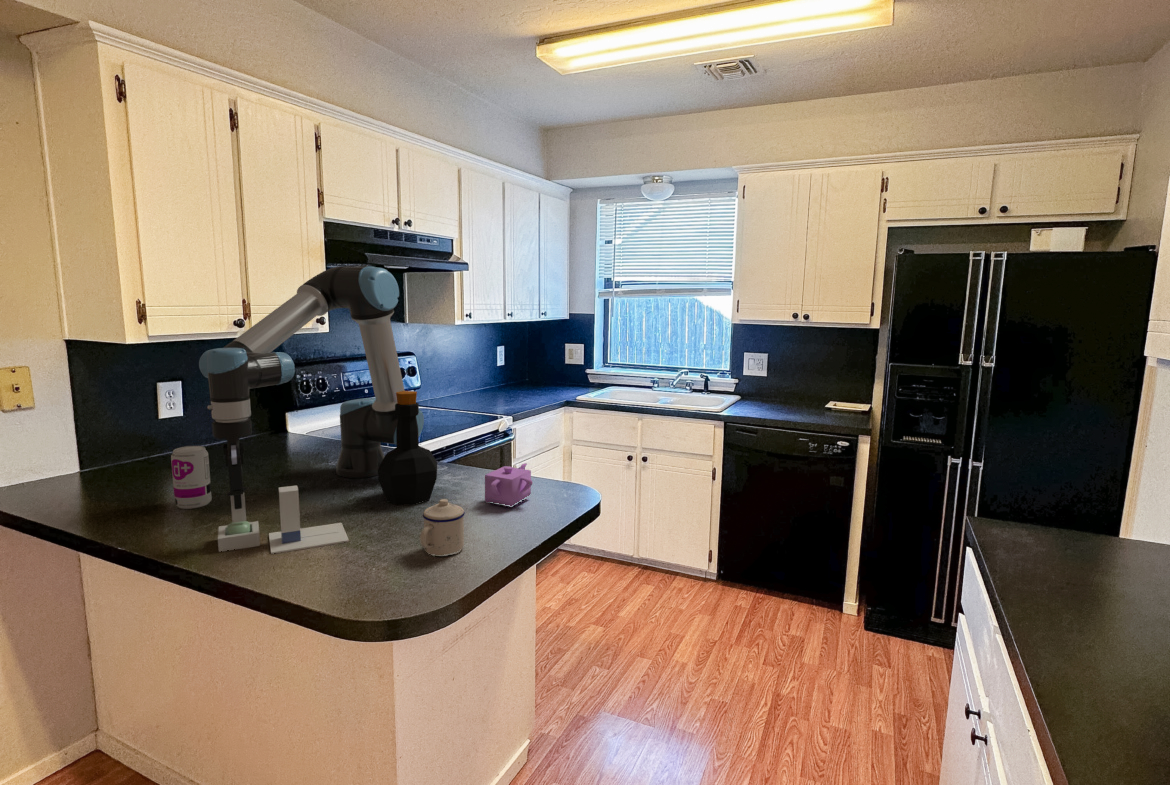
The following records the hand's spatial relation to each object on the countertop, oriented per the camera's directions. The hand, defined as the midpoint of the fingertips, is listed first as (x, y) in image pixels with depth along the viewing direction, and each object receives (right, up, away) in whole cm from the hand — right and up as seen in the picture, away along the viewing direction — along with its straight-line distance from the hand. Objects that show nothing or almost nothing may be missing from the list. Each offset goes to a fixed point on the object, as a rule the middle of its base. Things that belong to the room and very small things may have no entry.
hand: (239, 520), depth 141 cm
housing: (0, -5, 0) cm, 5 cm away
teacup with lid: (+46, -7, -2) cm, 46 cm away
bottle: (+29, -1, +33) cm, 44 cm away
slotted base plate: (+14, -5, +4) cm, 15 cm away
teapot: (+58, -2, +32) cm, 66 cm away
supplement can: (-25, -1, +24) cm, 34 cm away
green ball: (0, -5, 0) cm, 5 cm away
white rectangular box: (+11, -5, +2) cm, 12 cm away
